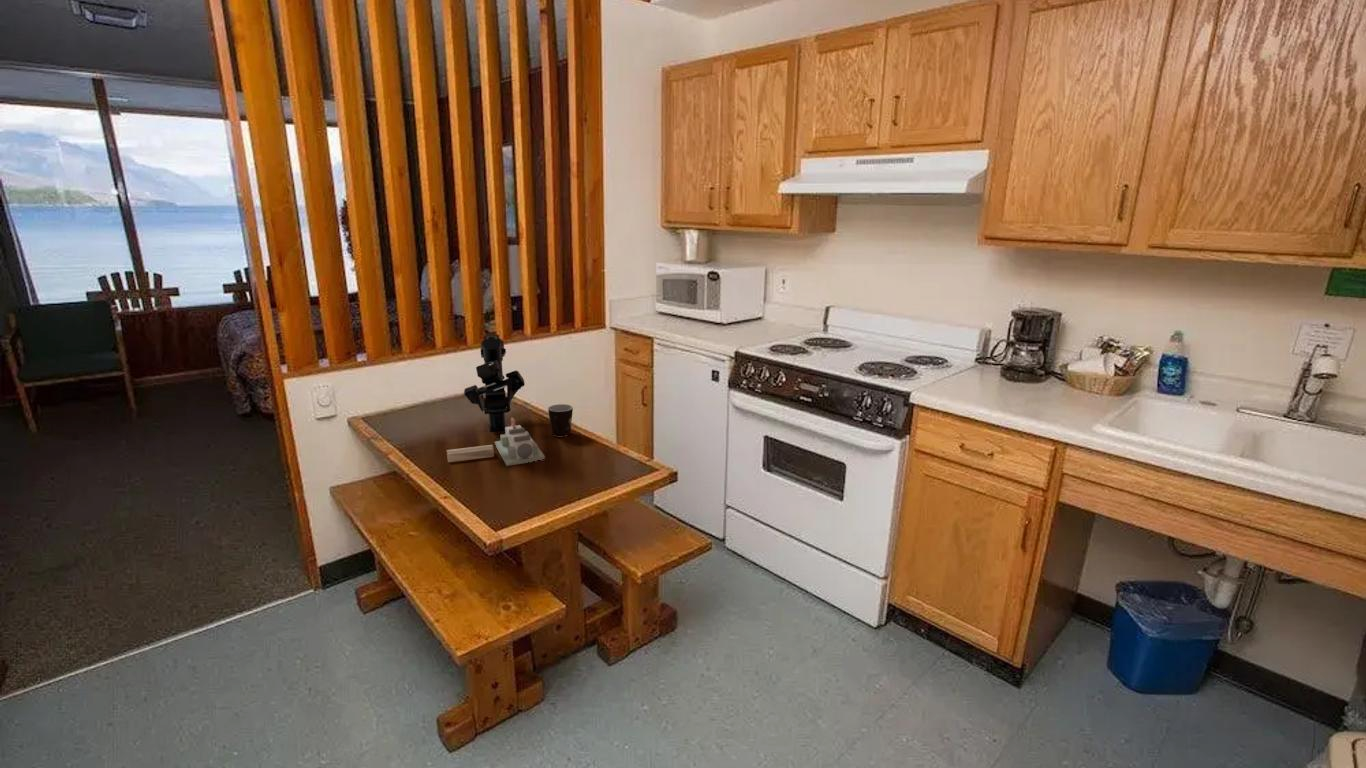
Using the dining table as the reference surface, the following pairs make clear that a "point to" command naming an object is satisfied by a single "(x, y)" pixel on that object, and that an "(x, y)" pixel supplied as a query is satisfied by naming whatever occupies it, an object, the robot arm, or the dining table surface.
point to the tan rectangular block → (470, 453)
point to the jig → (518, 446)
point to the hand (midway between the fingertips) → (495, 405)
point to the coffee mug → (560, 419)
